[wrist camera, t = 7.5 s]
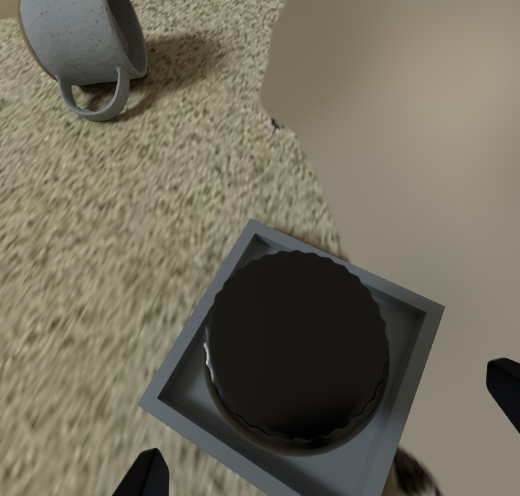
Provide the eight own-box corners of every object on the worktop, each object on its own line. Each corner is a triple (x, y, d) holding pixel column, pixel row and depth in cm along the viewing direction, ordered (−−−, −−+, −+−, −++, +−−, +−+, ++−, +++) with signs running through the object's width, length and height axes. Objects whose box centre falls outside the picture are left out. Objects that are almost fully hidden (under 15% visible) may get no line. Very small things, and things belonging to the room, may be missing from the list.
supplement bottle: (327, 291, 20) (375, 190, 9) (367, 404, 18) (501, 452, 7) (225, 319, 20) (150, 251, 9) (250, 438, 18) (187, 543, 6)
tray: (430, 312, 20) (445, 306, 18) (351, 537, 16) (359, 558, 14) (253, 230, 23) (250, 218, 21) (151, 401, 19) (137, 404, 17)
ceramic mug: (72, 53, 33) (12, -36, 25) (149, 40, 32) (110, -53, 25) (61, 133, 29) (-14, 55, 22) (148, 119, 28) (102, 36, 21)
